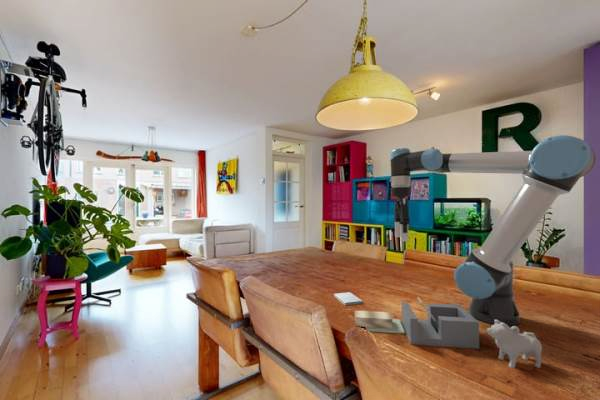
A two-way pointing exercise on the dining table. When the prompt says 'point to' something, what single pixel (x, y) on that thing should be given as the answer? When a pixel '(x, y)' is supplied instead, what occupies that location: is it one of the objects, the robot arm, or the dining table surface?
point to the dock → (442, 326)
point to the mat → (396, 328)
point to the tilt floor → (427, 310)
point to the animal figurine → (515, 343)
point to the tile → (373, 319)
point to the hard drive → (348, 298)
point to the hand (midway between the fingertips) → (401, 239)
